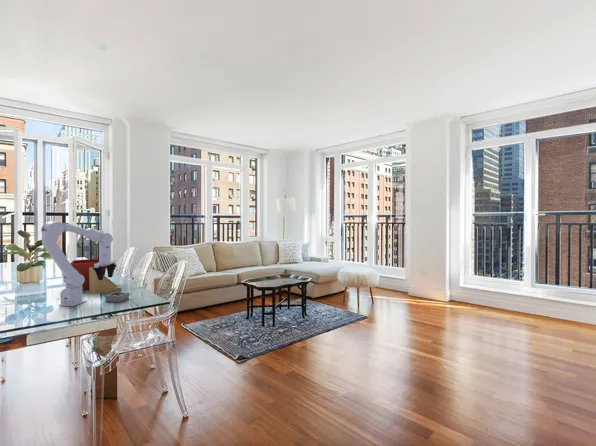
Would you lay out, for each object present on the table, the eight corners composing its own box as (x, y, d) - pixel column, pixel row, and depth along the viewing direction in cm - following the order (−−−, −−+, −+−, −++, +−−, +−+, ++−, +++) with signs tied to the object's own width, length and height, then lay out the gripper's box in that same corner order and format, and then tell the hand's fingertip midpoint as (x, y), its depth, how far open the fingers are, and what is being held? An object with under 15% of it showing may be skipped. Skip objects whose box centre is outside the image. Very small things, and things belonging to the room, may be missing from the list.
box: (119, 302, 174) (119, 296, 174) (105, 302, 175) (105, 295, 175) (128, 298, 182) (128, 292, 182) (115, 298, 183) (115, 291, 183)
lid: (120, 298, 183) (120, 289, 183) (106, 297, 185) (106, 289, 185) (130, 294, 192) (130, 286, 192) (117, 293, 193) (117, 285, 193)
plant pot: (73, 285, 213) (73, 259, 213) (107, 282, 222) (107, 258, 222) (69, 292, 196) (69, 263, 196) (106, 288, 205) (106, 261, 205)
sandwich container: (122, 289, 204) (122, 265, 204) (95, 294, 192) (95, 268, 192) (116, 287, 210) (115, 263, 209) (89, 292, 197) (88, 267, 197)
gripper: (102, 256, 177) (102, 281, 177) (120, 252, 191) (120, 276, 191) (90, 255, 177) (90, 281, 178) (109, 252, 192) (109, 275, 192)
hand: (105, 278), depth 185 cm, fingers open, 7 cm apart
